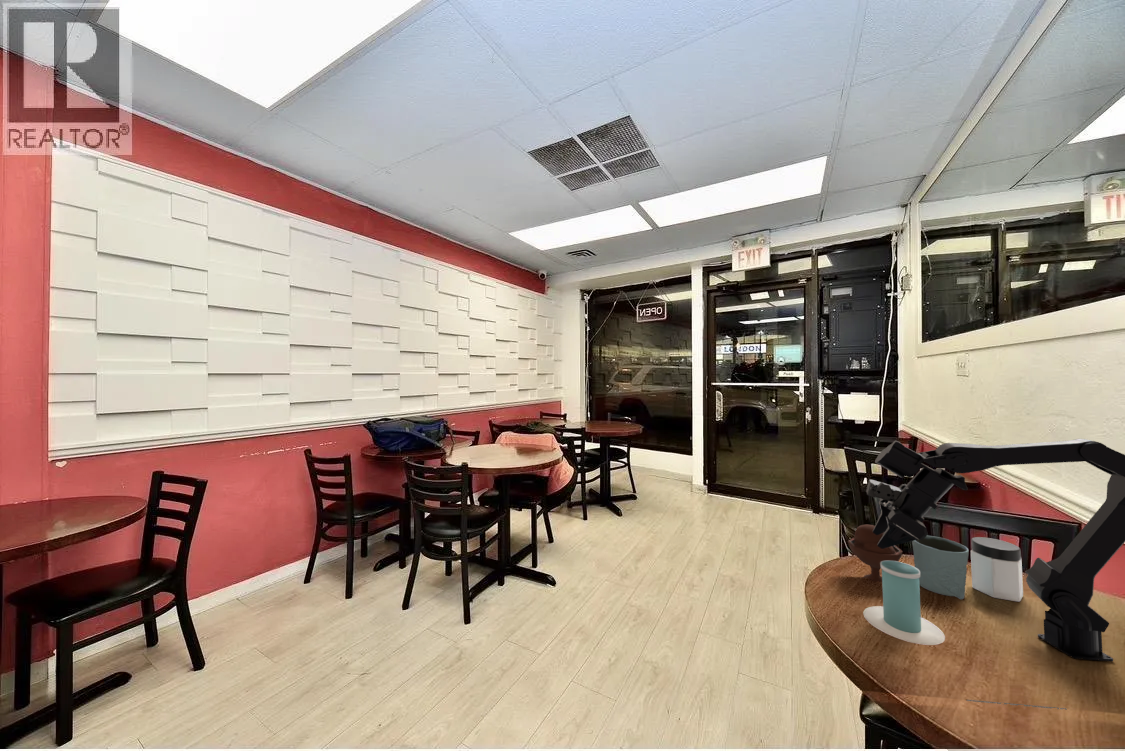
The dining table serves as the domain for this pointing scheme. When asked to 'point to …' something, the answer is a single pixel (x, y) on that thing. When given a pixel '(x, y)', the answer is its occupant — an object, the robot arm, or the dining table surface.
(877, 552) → the ice cream bowl
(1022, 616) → the dining table surface
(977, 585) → the jar
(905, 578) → the teal canister
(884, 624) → the cream saucer
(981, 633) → the dining table surface
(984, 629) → the dining table surface
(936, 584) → the grey-blue cup
